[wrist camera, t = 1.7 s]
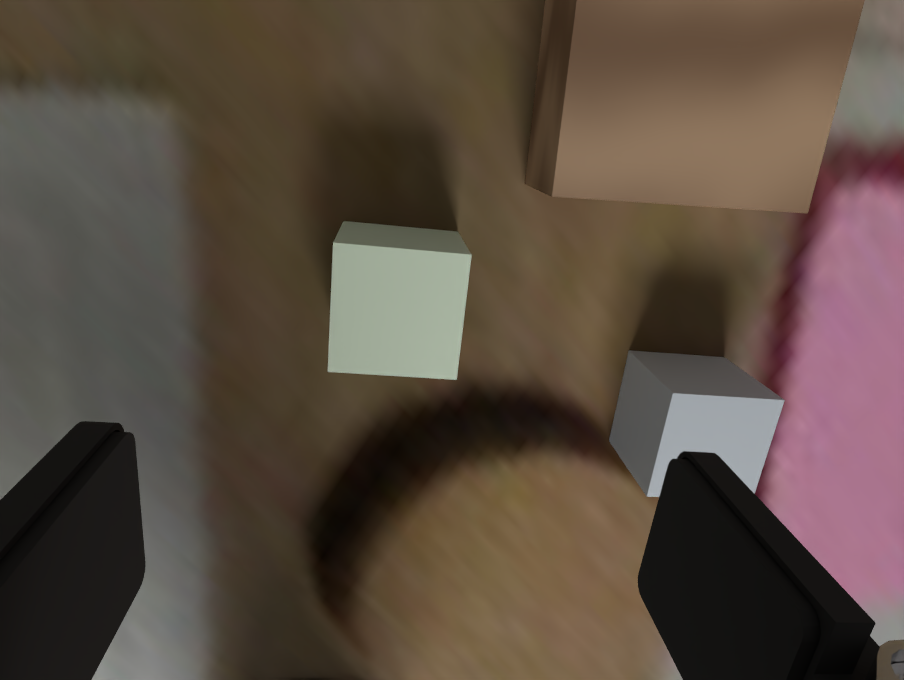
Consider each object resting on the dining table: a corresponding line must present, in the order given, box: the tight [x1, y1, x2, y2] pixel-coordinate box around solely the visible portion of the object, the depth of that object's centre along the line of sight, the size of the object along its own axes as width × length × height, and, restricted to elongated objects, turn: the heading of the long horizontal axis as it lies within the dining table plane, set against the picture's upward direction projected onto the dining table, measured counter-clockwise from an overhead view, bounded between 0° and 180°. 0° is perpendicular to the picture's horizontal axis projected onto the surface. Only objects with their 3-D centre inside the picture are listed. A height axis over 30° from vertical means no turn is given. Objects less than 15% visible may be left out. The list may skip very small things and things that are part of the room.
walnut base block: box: [525, 0, 865, 213], centre depth 23 cm, size 10×10×5 cm
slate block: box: [609, 350, 784, 497], centre depth 28 cm, size 5×5×5 cm
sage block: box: [328, 221, 472, 380], centre depth 25 cm, size 5×5×5 cm
